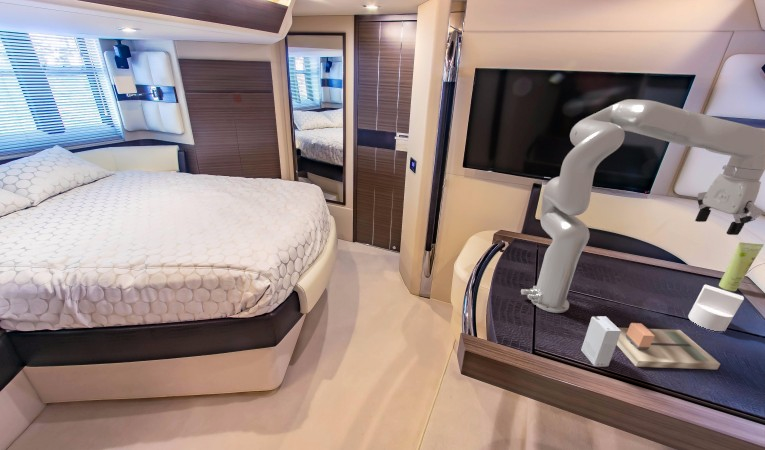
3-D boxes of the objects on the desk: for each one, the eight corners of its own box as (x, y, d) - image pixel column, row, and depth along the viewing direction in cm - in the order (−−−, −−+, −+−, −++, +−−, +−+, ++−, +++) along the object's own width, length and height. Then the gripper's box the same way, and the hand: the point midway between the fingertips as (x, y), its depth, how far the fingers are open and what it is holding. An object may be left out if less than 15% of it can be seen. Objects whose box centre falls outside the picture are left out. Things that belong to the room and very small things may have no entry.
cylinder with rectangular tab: (686, 321, 104) (703, 291, 99) (689, 309, 110) (704, 280, 105) (725, 336, 98) (744, 304, 93) (725, 323, 104) (743, 292, 99)
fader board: (635, 366, 86) (638, 360, 85) (605, 332, 98) (607, 327, 97) (717, 369, 86) (720, 363, 85) (677, 335, 98) (679, 329, 97)
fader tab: (637, 348, 89) (643, 335, 87) (625, 335, 93) (631, 323, 92) (648, 349, 89) (654, 335, 87) (635, 336, 93) (641, 323, 92)
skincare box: (609, 366, 86) (624, 331, 81) (593, 367, 85) (607, 331, 81) (593, 349, 91) (607, 315, 87) (578, 349, 91) (591, 315, 86)
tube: (733, 293, 120) (759, 247, 112) (715, 286, 124) (739, 241, 116) (738, 289, 123) (764, 244, 115) (720, 283, 127) (744, 238, 119)
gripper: (701, 165, 99) (678, 216, 106) (764, 181, 83) (733, 240, 90) (723, 166, 100) (699, 217, 107) (791, 181, 84) (758, 240, 91)
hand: (715, 227), depth 98 cm, fingers open, 9 cm apart
